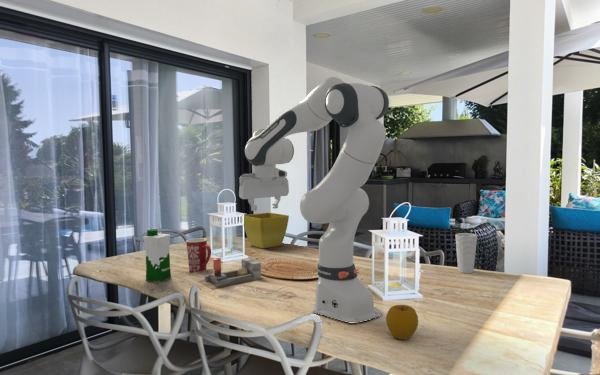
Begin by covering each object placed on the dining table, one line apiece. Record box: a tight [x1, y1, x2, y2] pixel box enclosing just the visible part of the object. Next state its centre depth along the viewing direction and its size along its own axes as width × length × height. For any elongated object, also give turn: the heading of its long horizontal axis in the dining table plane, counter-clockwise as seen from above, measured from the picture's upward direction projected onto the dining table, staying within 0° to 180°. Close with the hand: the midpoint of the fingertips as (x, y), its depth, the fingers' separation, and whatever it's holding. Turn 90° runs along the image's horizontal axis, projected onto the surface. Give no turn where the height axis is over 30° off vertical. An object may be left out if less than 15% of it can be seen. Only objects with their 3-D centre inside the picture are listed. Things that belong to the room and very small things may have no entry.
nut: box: [237, 266, 248, 276], centre depth 172 cm, size 4×4×4 cm
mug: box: [185, 237, 212, 273], centre depth 187 cm, size 13×9×14 cm
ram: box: [208, 257, 227, 284], centre depth 165 cm, size 7×4×9 cm, turn 36°
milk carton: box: [142, 228, 172, 282], centre depth 177 cm, size 9×9×20 cm
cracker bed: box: [197, 257, 265, 291], centre depth 169 cm, size 14×22×8 cm, turn 126°
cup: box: [455, 232, 478, 274], centre depth 180 cm, size 8×8×16 cm
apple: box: [385, 304, 419, 340], centre depth 117 cm, size 8×8×9 cm
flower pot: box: [243, 212, 290, 249], centre depth 238 cm, size 19×19×17 cm
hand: (264, 209), depth 165 cm, fingers open, 8 cm apart
